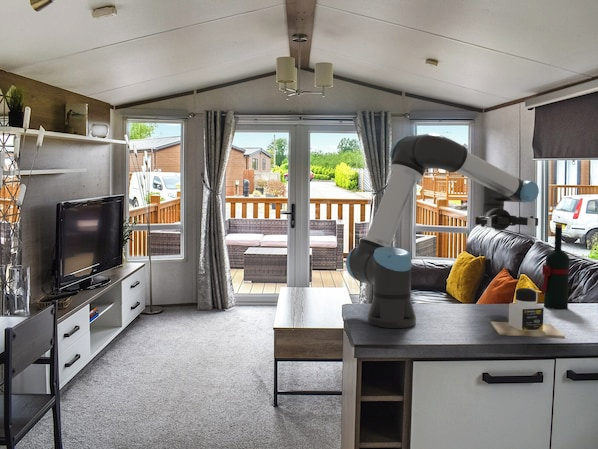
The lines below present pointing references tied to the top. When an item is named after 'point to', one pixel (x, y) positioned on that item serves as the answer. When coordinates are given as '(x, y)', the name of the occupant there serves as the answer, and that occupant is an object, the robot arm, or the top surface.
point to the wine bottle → (556, 275)
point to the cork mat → (547, 331)
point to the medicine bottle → (526, 311)
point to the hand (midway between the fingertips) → (511, 222)
